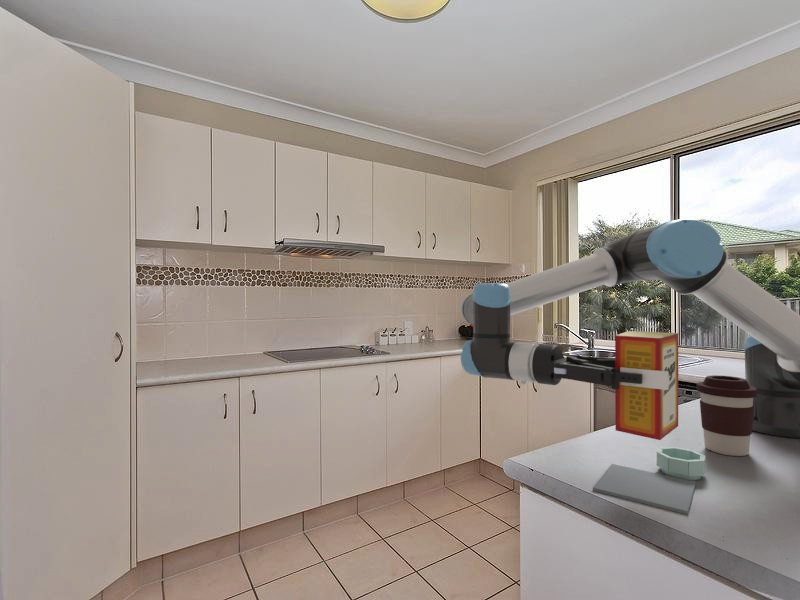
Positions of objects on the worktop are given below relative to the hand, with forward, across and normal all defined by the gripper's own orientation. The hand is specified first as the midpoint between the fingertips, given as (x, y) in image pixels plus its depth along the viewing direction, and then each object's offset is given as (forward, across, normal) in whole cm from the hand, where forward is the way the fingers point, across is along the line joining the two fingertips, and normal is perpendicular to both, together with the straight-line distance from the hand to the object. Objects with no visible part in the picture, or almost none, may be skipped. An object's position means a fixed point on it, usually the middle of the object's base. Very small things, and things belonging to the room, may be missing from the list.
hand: (673, 375), depth 69 cm
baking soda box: (-4, 0, -9) cm, 10 cm away
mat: (-4, 0, -19) cm, 19 cm away
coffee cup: (+6, -30, -19) cm, 36 cm away
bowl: (0, -11, -19) cm, 22 cm away
